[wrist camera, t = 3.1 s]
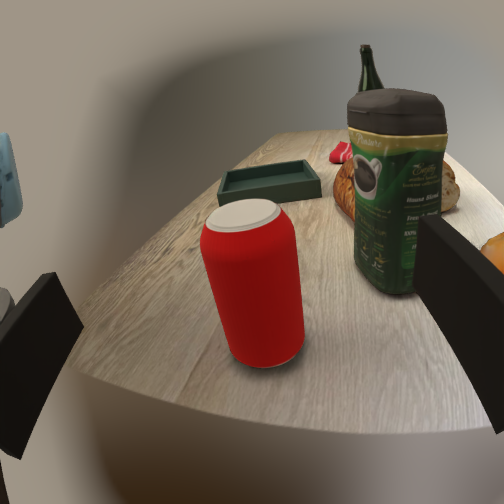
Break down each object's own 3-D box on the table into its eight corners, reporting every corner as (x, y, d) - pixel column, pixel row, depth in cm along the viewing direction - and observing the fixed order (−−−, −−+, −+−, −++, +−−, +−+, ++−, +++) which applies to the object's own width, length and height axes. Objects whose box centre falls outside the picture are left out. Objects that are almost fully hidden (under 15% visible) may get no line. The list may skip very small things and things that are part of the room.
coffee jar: (447, 285, 27) (461, 92, 18) (382, 306, 27) (383, 89, 18) (401, 243, 35) (399, 87, 27) (344, 256, 35) (332, 89, 26)
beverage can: (318, 333, 26) (308, 197, 20) (280, 386, 21) (254, 241, 16) (258, 314, 29) (234, 191, 23) (217, 359, 25) (173, 227, 19)
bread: (349, 232, 40) (345, 158, 35) (323, 189, 56) (317, 136, 51) (471, 216, 38) (477, 151, 33) (420, 179, 54) (420, 130, 49)
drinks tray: (220, 212, 54) (216, 194, 52) (227, 185, 67) (224, 171, 66) (321, 197, 52) (320, 179, 51) (307, 173, 66) (305, 159, 65)
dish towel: (340, 149, 83) (339, 140, 82) (421, 151, 73) (421, 142, 72) (327, 164, 71) (326, 153, 69) (426, 168, 60) (426, 156, 59)
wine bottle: (392, 138, 91) (382, 43, 75) (362, 139, 94) (351, 43, 78) (387, 133, 100) (377, 46, 84) (359, 134, 103) (348, 46, 87)
